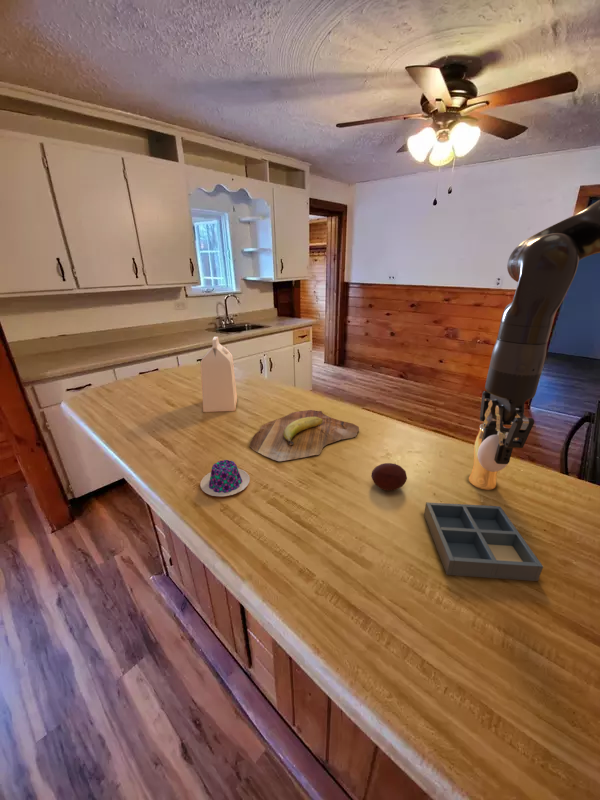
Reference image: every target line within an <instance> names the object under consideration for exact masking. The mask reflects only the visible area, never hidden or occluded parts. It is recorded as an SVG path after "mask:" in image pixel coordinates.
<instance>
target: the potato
mask: <svg viewBox="0 0 600 800" xmlns="http://www.w3.org/2000/svg"><path fill="white" fill-rule="evenodd" d="M371 480H372V482H373V484H375V485H376V486H377V487H378V488H379V489H381V490H384V491H388V492H389V491H390V492H391V491H396V490H398V489H400V488H402V487H403V486H404V485H405V484H406V483H407V480H408V477H407V472H406V469H404V468H403V467H402V466H401V465H399V464H396V463H391V462H385V463H384V462H383V463H381V464H379V465H377V466H376V467H374V469H372V470H371Z"/></svg>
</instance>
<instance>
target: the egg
mask: <svg viewBox="0 0 600 800" xmlns="http://www.w3.org/2000/svg"><path fill="white" fill-rule="evenodd" d="M498 444H499V435H491V436H489V437H487V438H486V439H485V440H484V441H483V442H482V443H481V445H480V447H479V450H478V460H479V462H480V464H481V466H482V467H483V468H484V469H486V470H488V471H491V472H496V471H498V472H499V471H502V470H503V469H505V468H506V467H507V466H508V464H497V463H496V462H495V460H494V459H495V455H496V451H497V447H498Z"/></svg>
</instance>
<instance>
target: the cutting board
mask: <svg viewBox="0 0 600 800" xmlns="http://www.w3.org/2000/svg"><path fill="white" fill-rule="evenodd" d="M359 431H360V427H359V426H358V425H357V424H354V423H352V422H348V421H343V420H341V419H340V420H339V419H336V418H334V417H331V416H328V415H326V414H325V413H323V411H322V410H314V409H309V410H301V411H294V412H290V413H289V414H287V415H285V416H283V417H279V418H277V419H274V420H271V421H268V422H266V423H264V424H262V425H261V427H260V428H259V430H258V431H257V432H256V433H254V435H253V436H252V437H251V438H252V439H251V441H250V442H249V447H250V449H251V450H253V451H254V452H256V453H259V454H260V455H262V456H263V457H266V458H268V459H271V460H273V461H277V462H285V461H290V460H292V461H293V460H297V459H302V458H308V457H313V456H320V454H321V453H322V451H323V449H324V447H326V446H327V445H330V444H334V443H336V442H338V441H341V440H346V439H353V438H356V437H357V435H358V432H359Z"/></svg>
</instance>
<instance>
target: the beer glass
mask: <svg viewBox="0 0 600 800" xmlns="http://www.w3.org/2000/svg"><path fill="white" fill-rule="evenodd" d="M503 427H504V428H507V427H505V425H503ZM484 429H485V428H483V423H481V424H480V425H479V427H478V430H477V433H476V436H475V440H474V445H473V466H472V470H471V473H470V474H469V476H468V482H469V483H470V484H471V485H473V486H474V487H475V488H478V489H481V490H485V491H487V490H493V489H495V488H496V486H497V475H498V472H499V471H496V472H491V471H488V470H486V469H484V468H483V467H482V466H481V464H480V462H479V460H478V450H479V447H480V445H481V442H482V437H483V433H484ZM508 433H509V432H506V434H505V439H506V438H507V435H508ZM497 435H499V432H498V433H497Z"/></svg>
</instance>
